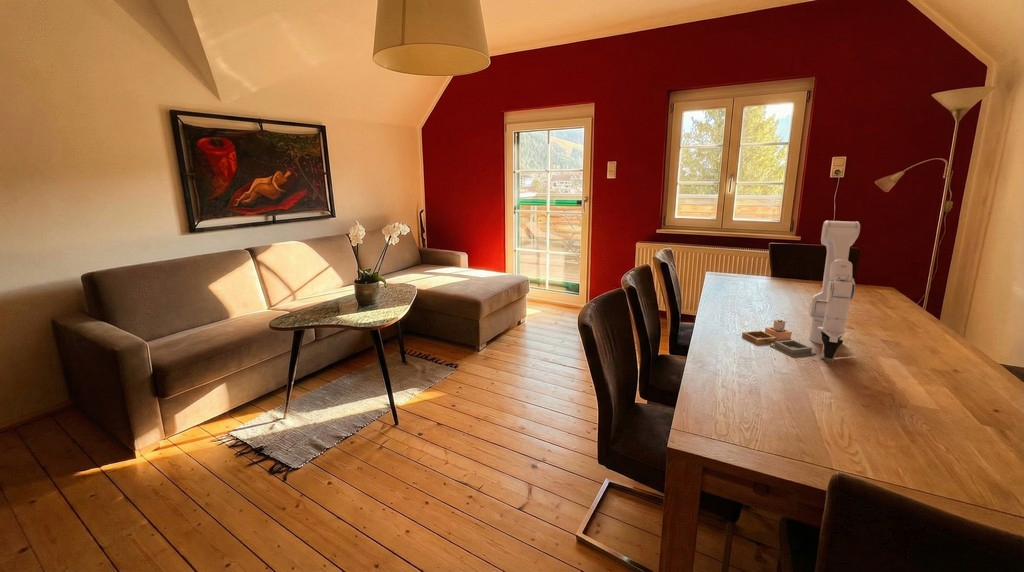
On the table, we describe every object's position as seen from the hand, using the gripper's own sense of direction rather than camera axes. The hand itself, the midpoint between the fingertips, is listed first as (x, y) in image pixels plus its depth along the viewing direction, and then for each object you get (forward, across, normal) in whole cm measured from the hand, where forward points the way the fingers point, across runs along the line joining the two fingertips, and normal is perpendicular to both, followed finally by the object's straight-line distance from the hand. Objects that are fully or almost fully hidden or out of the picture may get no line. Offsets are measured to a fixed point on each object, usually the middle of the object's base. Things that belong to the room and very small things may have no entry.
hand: (828, 355), depth 143 cm
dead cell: (+1, -13, -15) cm, 20 cm away
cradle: (+1, -1, -10) cm, 10 cm away
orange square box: (+1, -13, -15) cm, 20 cm away
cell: (+1, 0, 0) cm, 1 cm away
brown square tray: (+1, -6, -20) cm, 22 cm away
